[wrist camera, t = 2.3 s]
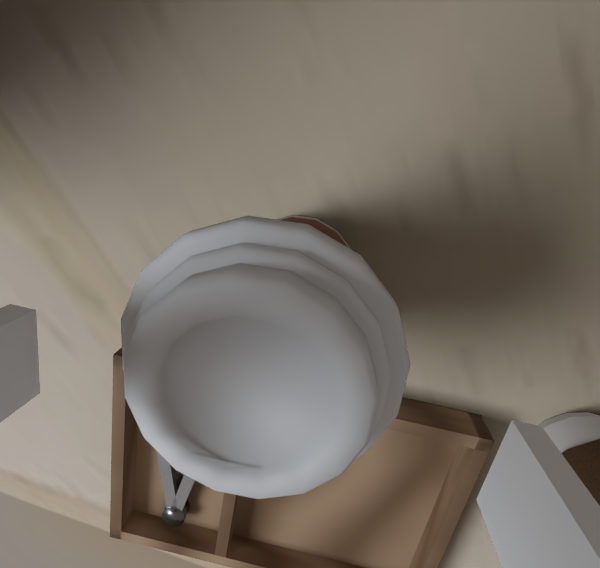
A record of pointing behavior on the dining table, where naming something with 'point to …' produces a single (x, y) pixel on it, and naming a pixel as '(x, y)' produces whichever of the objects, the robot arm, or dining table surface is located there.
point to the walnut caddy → (313, 499)
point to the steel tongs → (174, 493)
